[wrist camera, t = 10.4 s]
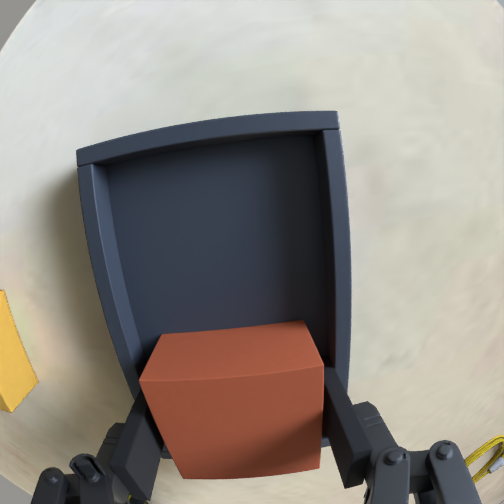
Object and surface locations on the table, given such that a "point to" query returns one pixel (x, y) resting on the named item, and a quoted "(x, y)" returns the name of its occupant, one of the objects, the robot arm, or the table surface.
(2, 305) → the pad mustard
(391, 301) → the table surface
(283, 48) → the table surface
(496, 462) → the coiled yellow cable
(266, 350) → the pad terracotta
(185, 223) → the tray
